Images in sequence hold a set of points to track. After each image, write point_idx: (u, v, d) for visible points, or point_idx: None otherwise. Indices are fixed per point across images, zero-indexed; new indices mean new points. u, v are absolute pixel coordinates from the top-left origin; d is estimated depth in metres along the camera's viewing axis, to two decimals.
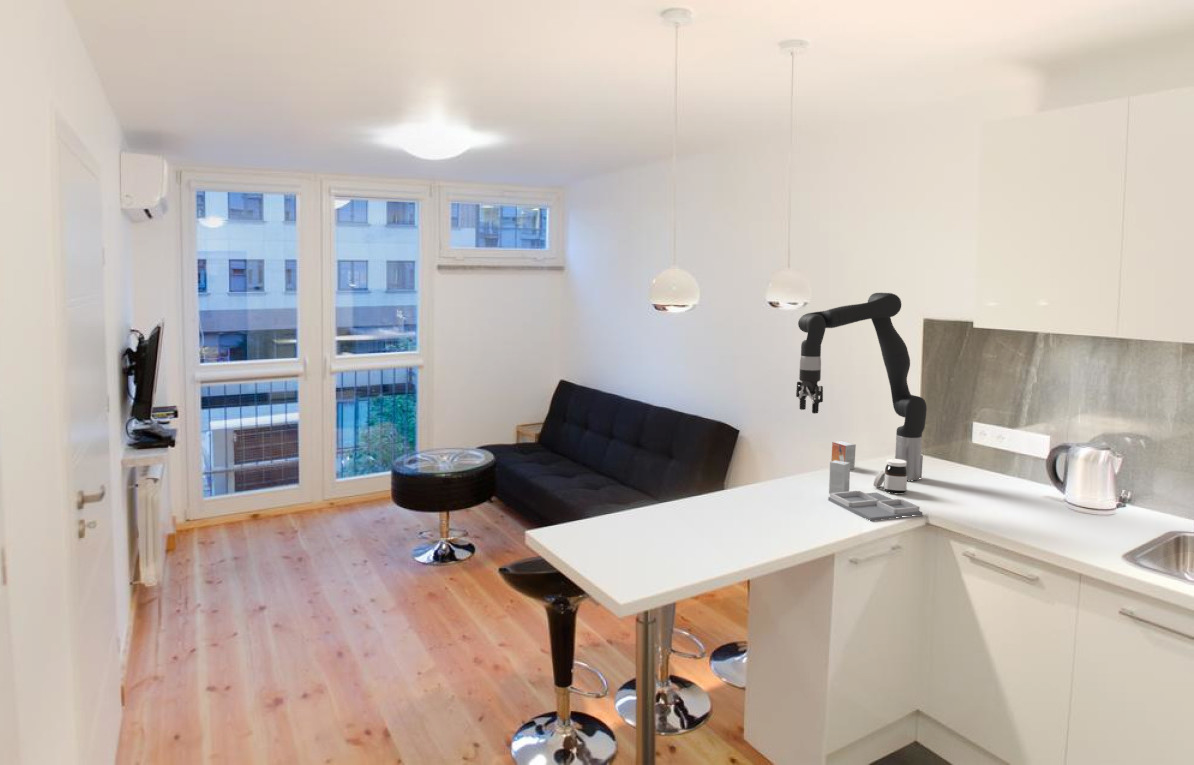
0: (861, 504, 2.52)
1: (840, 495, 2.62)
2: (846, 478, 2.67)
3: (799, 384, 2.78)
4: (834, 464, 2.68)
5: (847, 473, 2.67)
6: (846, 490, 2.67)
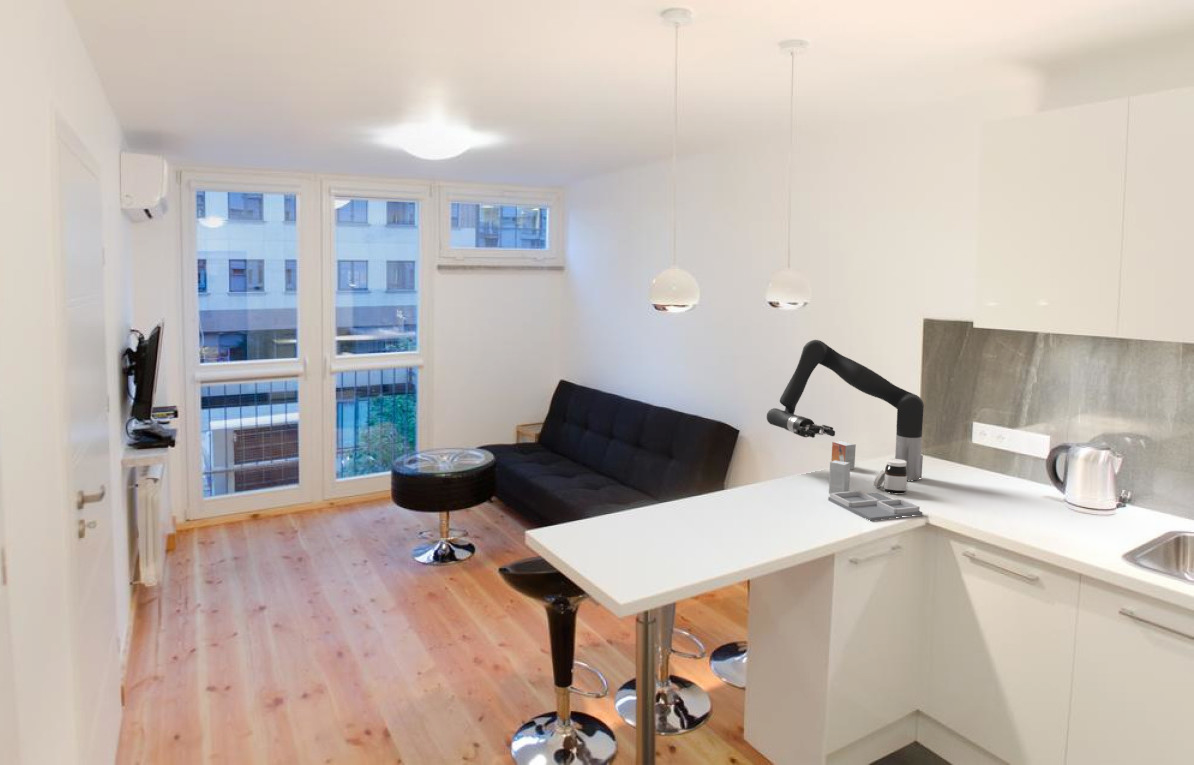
0: (861, 504, 2.52)
1: (840, 495, 2.62)
2: (846, 478, 2.67)
3: None
4: (834, 464, 2.68)
5: (847, 473, 2.67)
6: (846, 490, 2.67)
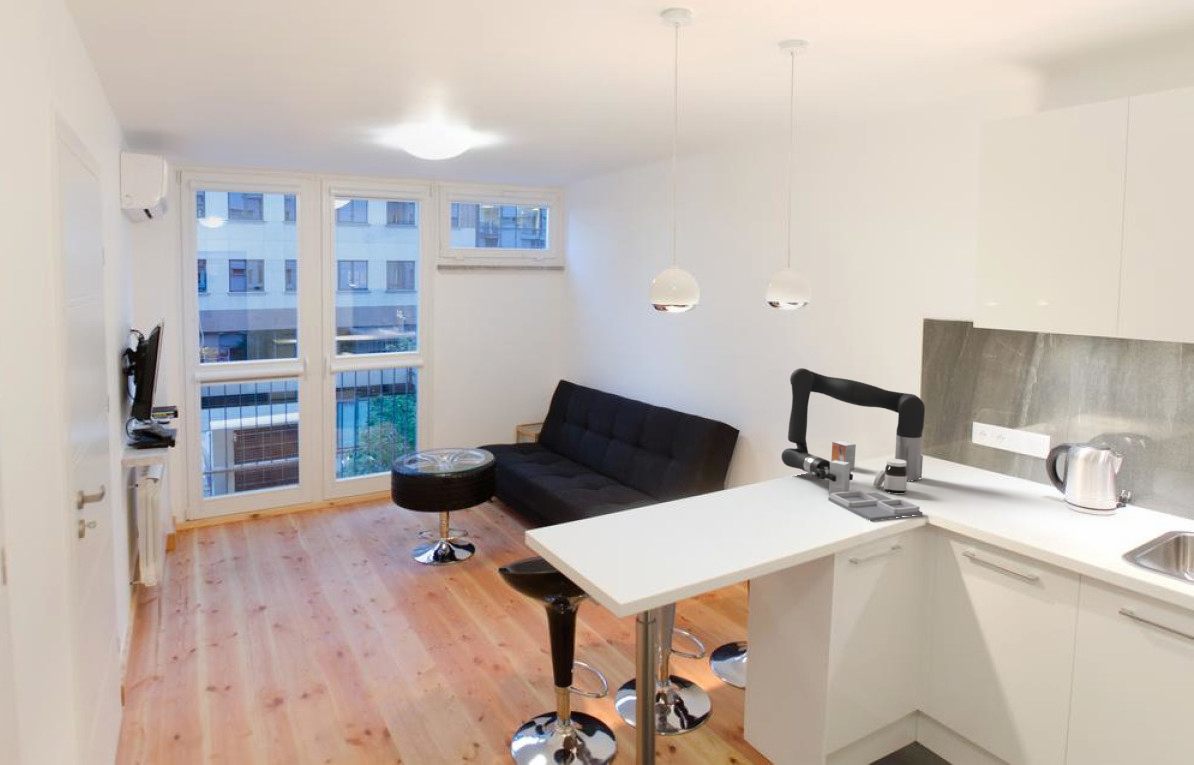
0: (861, 504, 2.52)
1: (840, 495, 2.62)
2: (846, 478, 2.67)
3: None
4: (834, 464, 2.68)
5: (847, 473, 2.66)
6: (846, 490, 2.67)
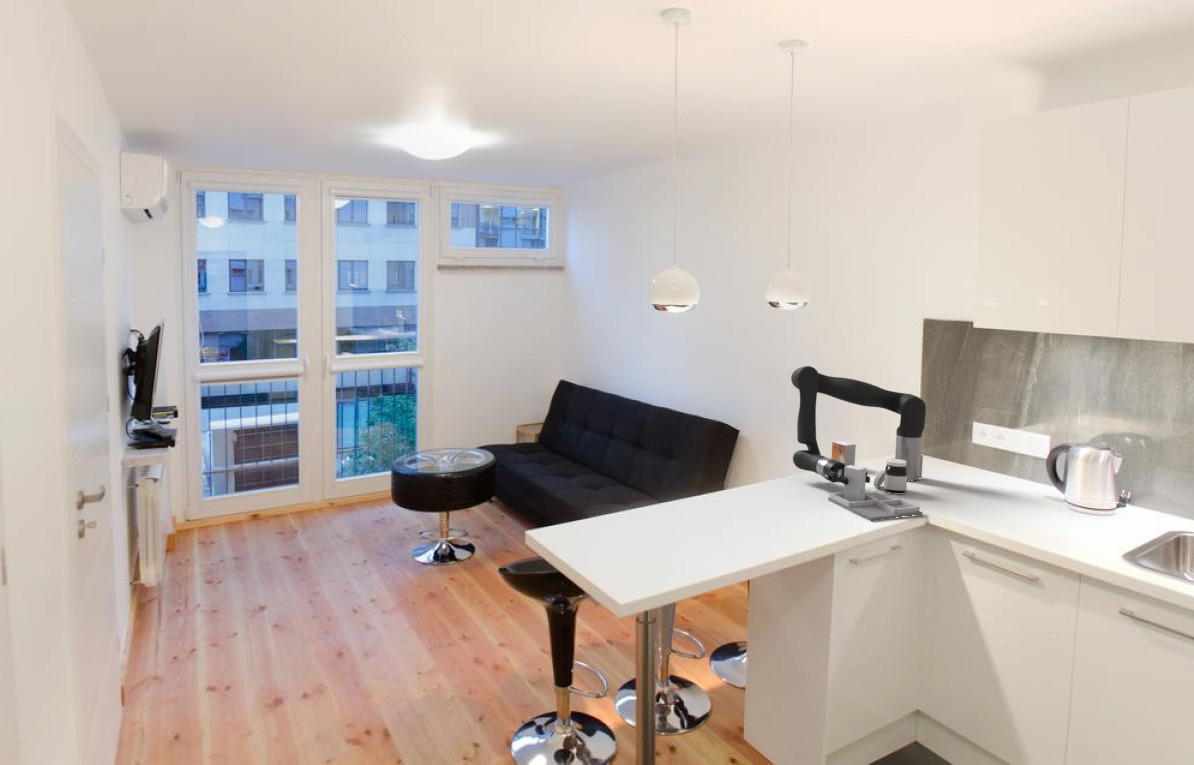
0: (861, 504, 2.52)
1: (840, 495, 2.62)
2: (862, 484, 2.55)
3: None
4: (849, 469, 2.56)
5: (862, 479, 2.54)
6: (861, 496, 2.55)
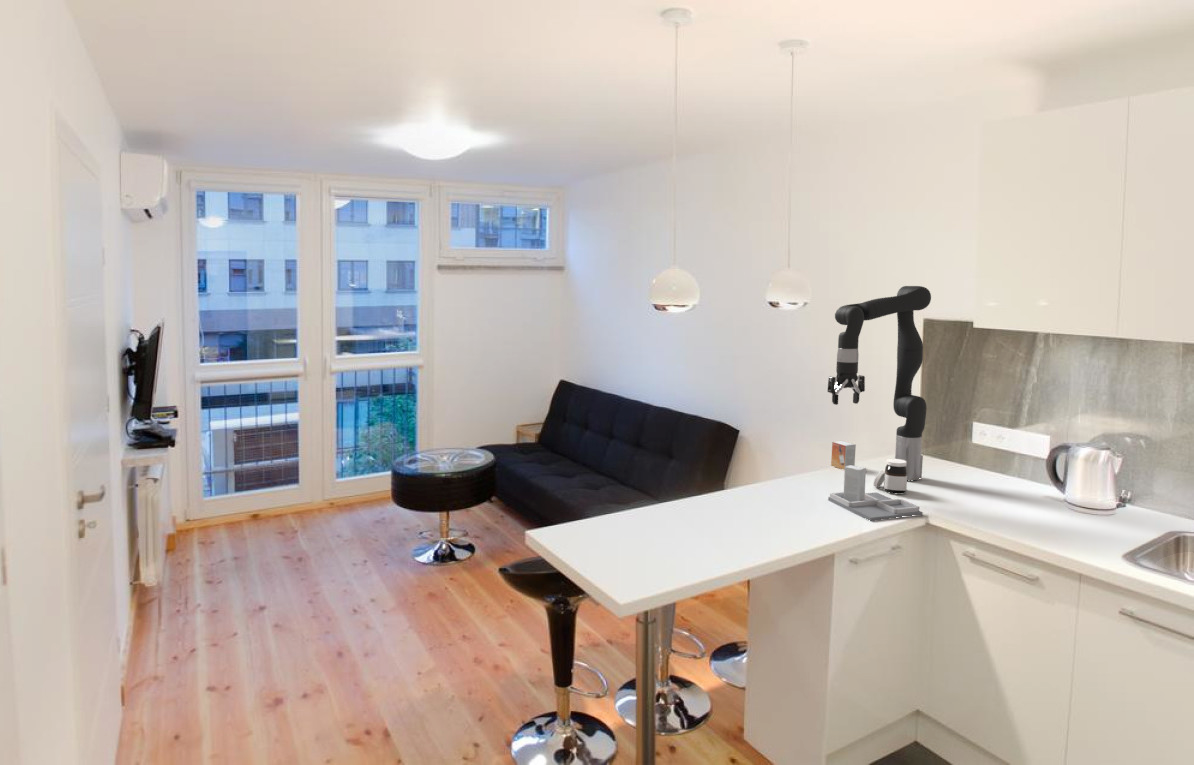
0: (861, 504, 2.52)
1: (840, 495, 2.62)
2: (862, 484, 2.55)
3: None
4: (849, 469, 2.56)
5: (862, 479, 2.54)
6: (861, 496, 2.55)
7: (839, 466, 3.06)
